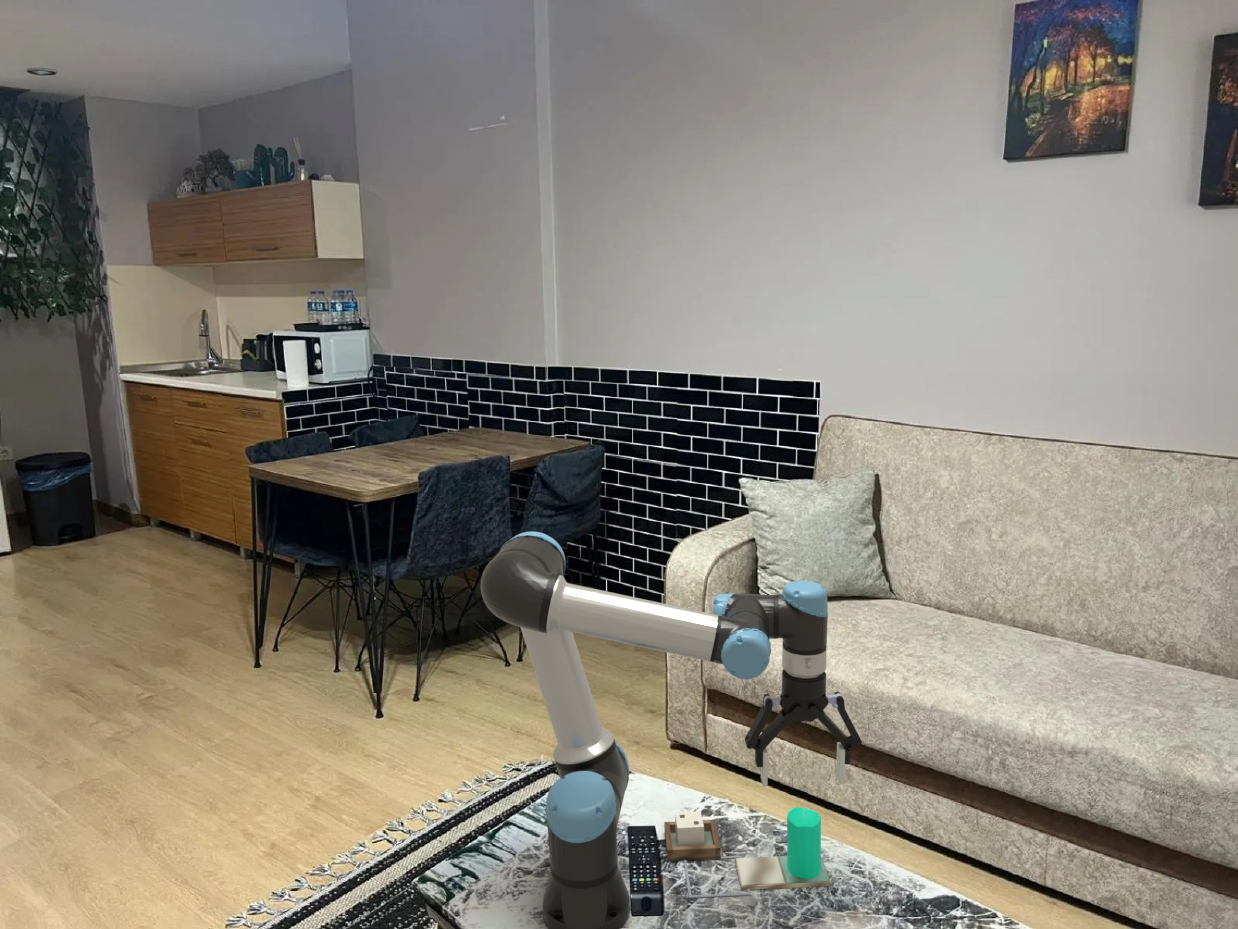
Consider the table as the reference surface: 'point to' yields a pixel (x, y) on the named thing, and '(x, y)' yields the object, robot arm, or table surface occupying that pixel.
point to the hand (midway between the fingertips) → (802, 781)
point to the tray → (702, 852)
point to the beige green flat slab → (774, 874)
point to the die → (689, 829)
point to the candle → (803, 842)
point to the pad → (712, 894)
